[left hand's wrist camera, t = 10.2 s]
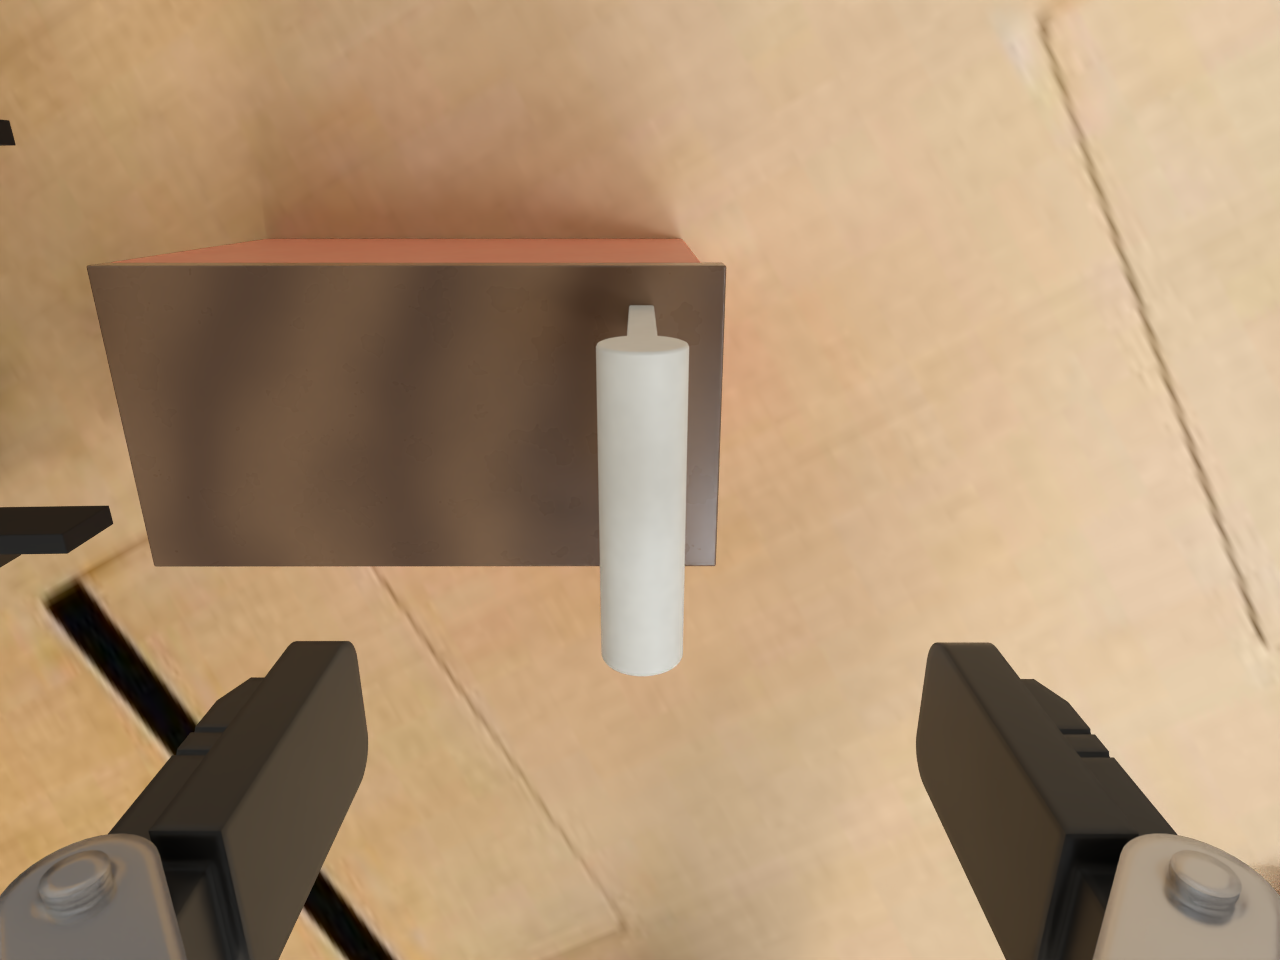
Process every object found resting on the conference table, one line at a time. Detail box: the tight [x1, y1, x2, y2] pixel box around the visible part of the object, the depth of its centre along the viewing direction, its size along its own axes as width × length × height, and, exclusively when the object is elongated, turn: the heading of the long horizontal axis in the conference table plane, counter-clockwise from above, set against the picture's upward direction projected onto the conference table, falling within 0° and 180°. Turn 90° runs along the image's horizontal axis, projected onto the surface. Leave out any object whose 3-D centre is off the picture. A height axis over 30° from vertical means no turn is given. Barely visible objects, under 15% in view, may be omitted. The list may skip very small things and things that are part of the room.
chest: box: [111, 239, 700, 263], centre depth 30 cm, size 17×9×11 cm, turn 90°
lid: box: [87, 263, 726, 676], centre depth 21 cm, size 18×9×8 cm, turn 90°
